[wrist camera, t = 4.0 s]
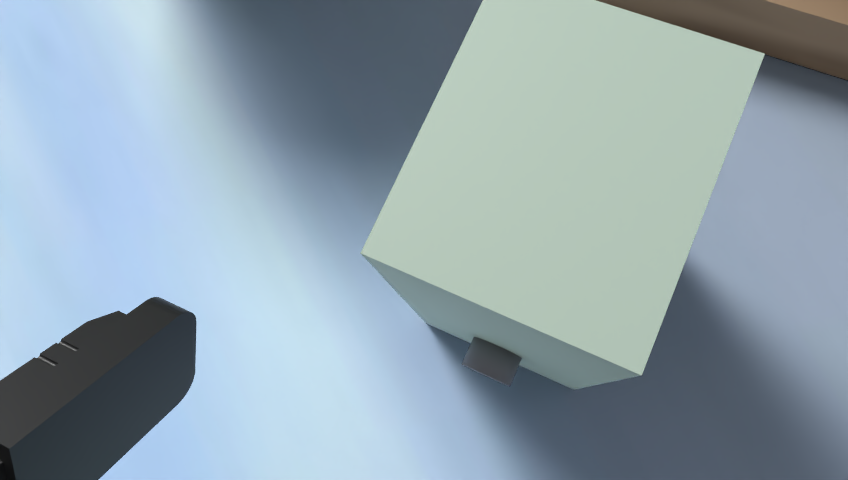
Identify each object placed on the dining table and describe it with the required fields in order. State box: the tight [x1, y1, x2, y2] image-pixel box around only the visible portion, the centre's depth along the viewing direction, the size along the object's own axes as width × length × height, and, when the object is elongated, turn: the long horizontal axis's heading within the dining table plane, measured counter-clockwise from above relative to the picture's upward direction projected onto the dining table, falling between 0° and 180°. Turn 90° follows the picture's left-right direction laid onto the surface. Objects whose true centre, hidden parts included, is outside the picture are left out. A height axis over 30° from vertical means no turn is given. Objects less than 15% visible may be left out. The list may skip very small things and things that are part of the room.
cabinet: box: [361, 0, 765, 390], centre depth 16 cm, size 7×5×10 cm
